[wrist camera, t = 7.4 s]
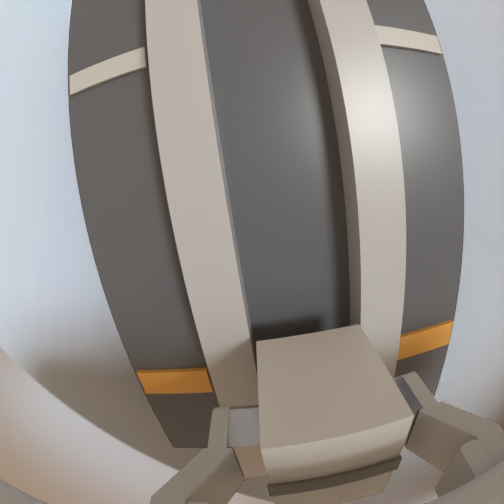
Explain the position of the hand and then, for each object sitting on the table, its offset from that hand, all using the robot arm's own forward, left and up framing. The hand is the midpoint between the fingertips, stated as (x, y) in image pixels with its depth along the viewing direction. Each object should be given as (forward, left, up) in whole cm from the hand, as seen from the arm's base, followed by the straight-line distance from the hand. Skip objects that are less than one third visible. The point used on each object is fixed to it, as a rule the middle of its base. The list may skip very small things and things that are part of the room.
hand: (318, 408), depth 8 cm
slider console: (0, -5, -5) cm, 7 cm away
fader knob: (0, 0, -3) cm, 3 cm away
